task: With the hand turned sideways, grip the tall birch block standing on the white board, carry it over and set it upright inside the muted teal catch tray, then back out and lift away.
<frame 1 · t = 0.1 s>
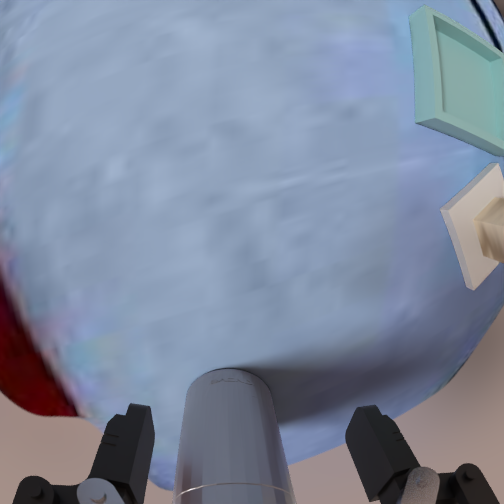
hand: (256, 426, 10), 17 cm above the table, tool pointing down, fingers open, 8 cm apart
birch block: (489, 226, 27), point 1 cm above the table, touching white board
white board: (481, 224, 28), on the table
catch tray: (459, 85, 24), on the table
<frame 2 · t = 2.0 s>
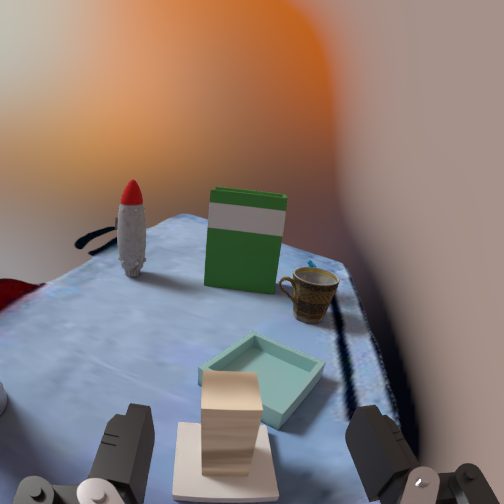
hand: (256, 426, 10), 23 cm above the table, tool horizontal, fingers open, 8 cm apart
hardback book: (240, 284, 79), on the table
birch block: (224, 458, 28), point 1 cm above the table, touching white board
white board: (223, 464, 28), on the table
ceramic cup: (301, 317, 66), on the table
toy rocket: (131, 274, 76), on the table
catch tray: (262, 383, 44), on the table
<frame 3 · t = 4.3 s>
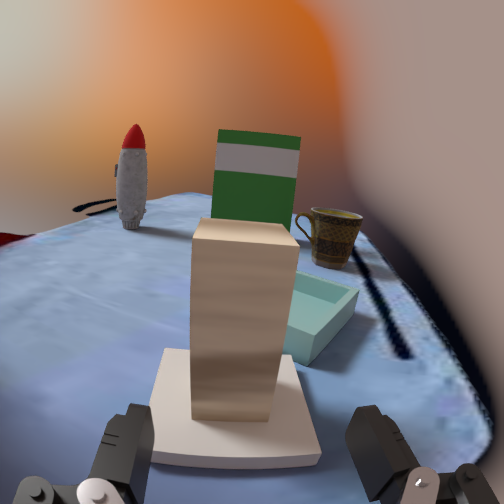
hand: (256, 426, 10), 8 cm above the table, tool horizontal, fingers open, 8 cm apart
hardback book: (249, 237, 71), on the table
birch block: (229, 396, 20), point 1 cm above the table, touching white board
white board: (228, 410, 20), on the table
ceramic cup: (321, 264, 57), on the table
toy rocket: (129, 228, 69), on the table
catch tray: (281, 315, 36), on the table
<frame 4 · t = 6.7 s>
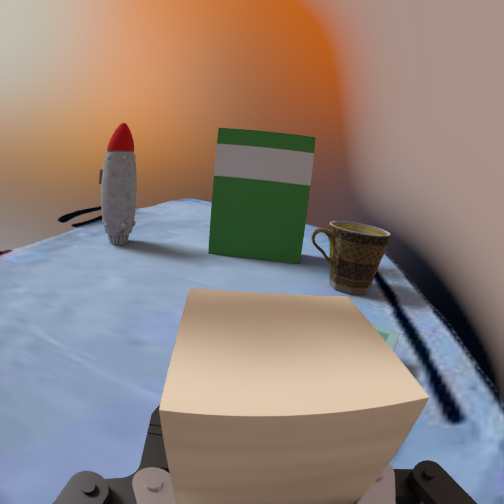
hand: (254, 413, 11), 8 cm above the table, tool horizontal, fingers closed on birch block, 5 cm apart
hardback book: (254, 254, 62), on the table
ceramic cup: (340, 288, 48), on the table
toy rocket: (117, 242, 60), on the table
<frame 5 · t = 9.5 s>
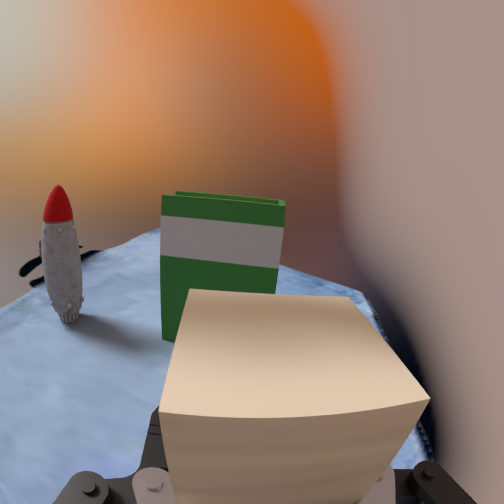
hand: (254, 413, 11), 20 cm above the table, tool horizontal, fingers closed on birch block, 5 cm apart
hardback book: (216, 337, 52), on the table
toy rocket: (68, 318, 49), on the table
when the fingers open (9 cm above the table, at t = 12.2 s): birch block drops 1 cm, resting on catch tray.
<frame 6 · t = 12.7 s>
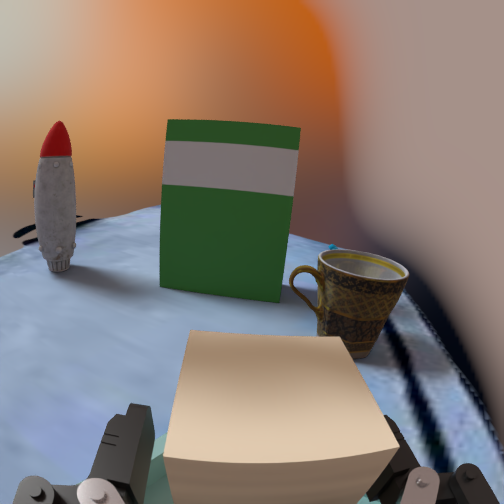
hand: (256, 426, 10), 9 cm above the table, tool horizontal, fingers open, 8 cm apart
hardback book: (221, 286, 47), on the table
ceramic cup: (332, 346, 33), on the table
toy rocket: (58, 268, 45), on the table
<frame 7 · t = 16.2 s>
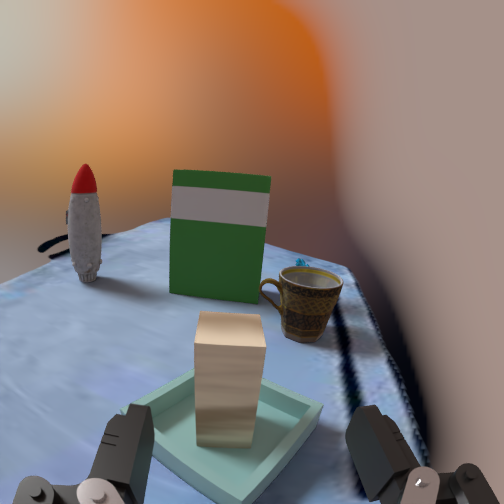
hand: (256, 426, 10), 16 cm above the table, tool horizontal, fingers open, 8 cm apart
hardback book: (215, 292, 62), on the table
birch block: (223, 429, 26), point 1 cm above the table, touching catch tray
ceramic cup: (292, 334, 48), on the table
toy rocket: (86, 279, 60), on the table
catch tray: (223, 435, 26), on the table
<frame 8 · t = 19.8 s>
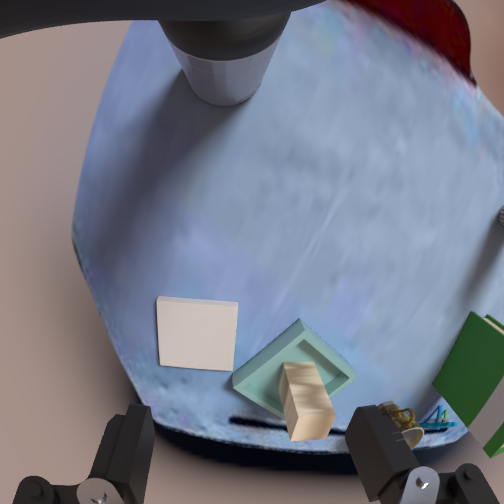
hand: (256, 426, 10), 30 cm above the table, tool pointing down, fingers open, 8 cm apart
gear: (431, 414, 55), on the table
hardback book: (461, 349, 49), on the table
birch block: (295, 374, 45), point 1 cm above the table, touching catch tray
white board: (197, 333, 42), on the table
ceramic cup: (384, 406, 51), on the table
catch tray: (294, 370, 46), on the table
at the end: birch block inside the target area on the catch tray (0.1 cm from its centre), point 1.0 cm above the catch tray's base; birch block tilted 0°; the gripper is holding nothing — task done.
